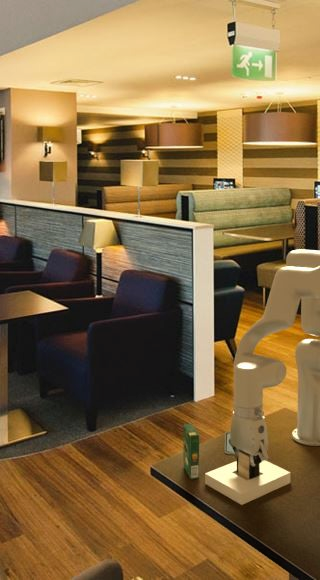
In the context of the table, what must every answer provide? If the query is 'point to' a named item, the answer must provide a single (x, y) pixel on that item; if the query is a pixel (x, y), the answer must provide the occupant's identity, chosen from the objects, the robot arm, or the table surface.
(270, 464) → the socket plate
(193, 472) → the coffee box
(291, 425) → the table surface
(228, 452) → the smartphone
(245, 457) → the plug
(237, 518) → the table surface
